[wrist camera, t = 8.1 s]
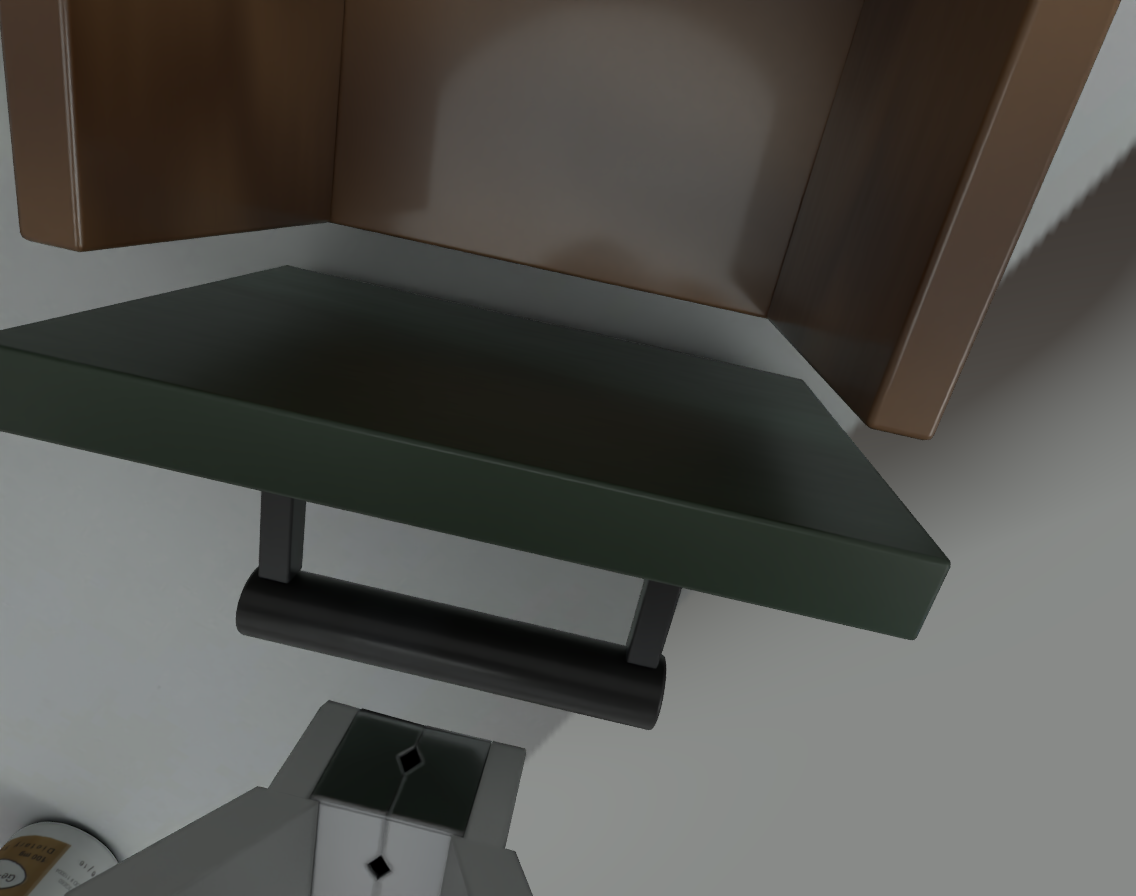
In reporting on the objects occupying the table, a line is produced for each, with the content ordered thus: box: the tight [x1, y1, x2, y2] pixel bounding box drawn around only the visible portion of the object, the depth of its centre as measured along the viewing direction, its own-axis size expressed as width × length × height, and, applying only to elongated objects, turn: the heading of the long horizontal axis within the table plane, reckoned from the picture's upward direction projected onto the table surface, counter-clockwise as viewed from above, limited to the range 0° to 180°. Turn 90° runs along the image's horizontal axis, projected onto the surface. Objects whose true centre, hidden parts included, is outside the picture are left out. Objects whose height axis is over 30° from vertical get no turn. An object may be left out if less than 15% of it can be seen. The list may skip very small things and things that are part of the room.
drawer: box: [0, 0, 1121, 730], centre depth 10 cm, size 21×12×8 cm, turn 169°
